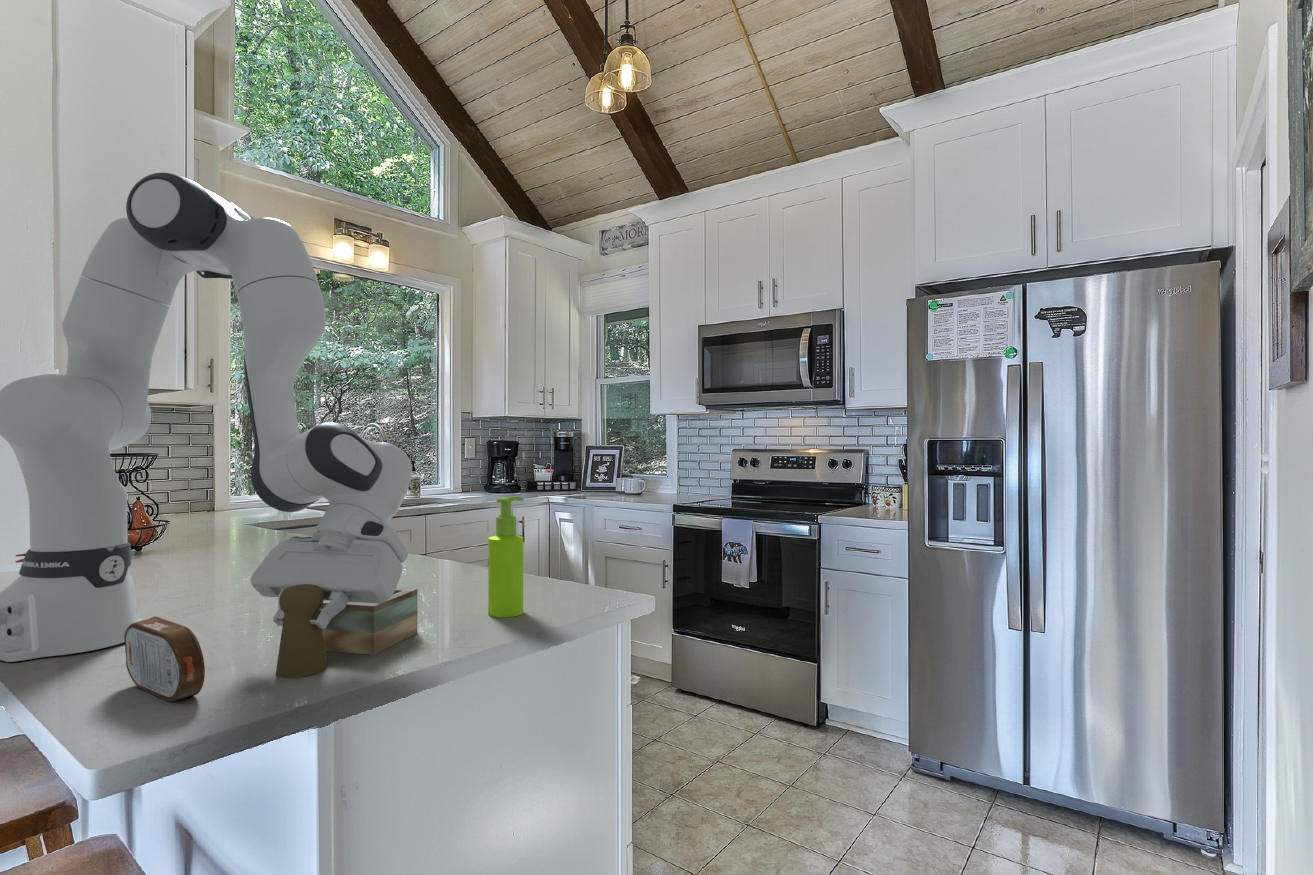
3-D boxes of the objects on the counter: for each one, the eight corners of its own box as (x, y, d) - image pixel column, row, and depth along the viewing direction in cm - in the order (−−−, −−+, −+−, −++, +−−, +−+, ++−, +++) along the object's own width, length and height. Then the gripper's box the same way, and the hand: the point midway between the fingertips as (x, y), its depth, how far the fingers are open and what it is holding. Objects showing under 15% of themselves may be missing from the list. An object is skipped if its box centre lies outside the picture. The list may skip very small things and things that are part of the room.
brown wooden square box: (305, 649, 99) (305, 601, 99) (354, 628, 110) (354, 585, 110) (374, 654, 97) (374, 606, 97) (417, 632, 108) (417, 588, 108)
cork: (312, 677, 88) (312, 590, 88) (265, 677, 88) (265, 590, 88) (335, 662, 94) (335, 580, 94) (291, 661, 94) (291, 580, 94)
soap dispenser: (533, 609, 122) (533, 496, 122) (509, 619, 116) (509, 499, 116) (506, 606, 124) (506, 494, 124) (481, 615, 118) (481, 498, 118)
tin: (207, 701, 80) (207, 629, 80) (177, 711, 77) (177, 635, 77) (148, 677, 88) (148, 610, 88) (119, 684, 85) (119, 616, 85)
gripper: (273, 523, 100) (216, 607, 90) (401, 527, 95) (356, 616, 86) (295, 549, 104) (243, 632, 94) (419, 554, 100) (377, 642, 90)
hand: (298, 625), depth 90 cm, fingers closed on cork, 4 cm apart
